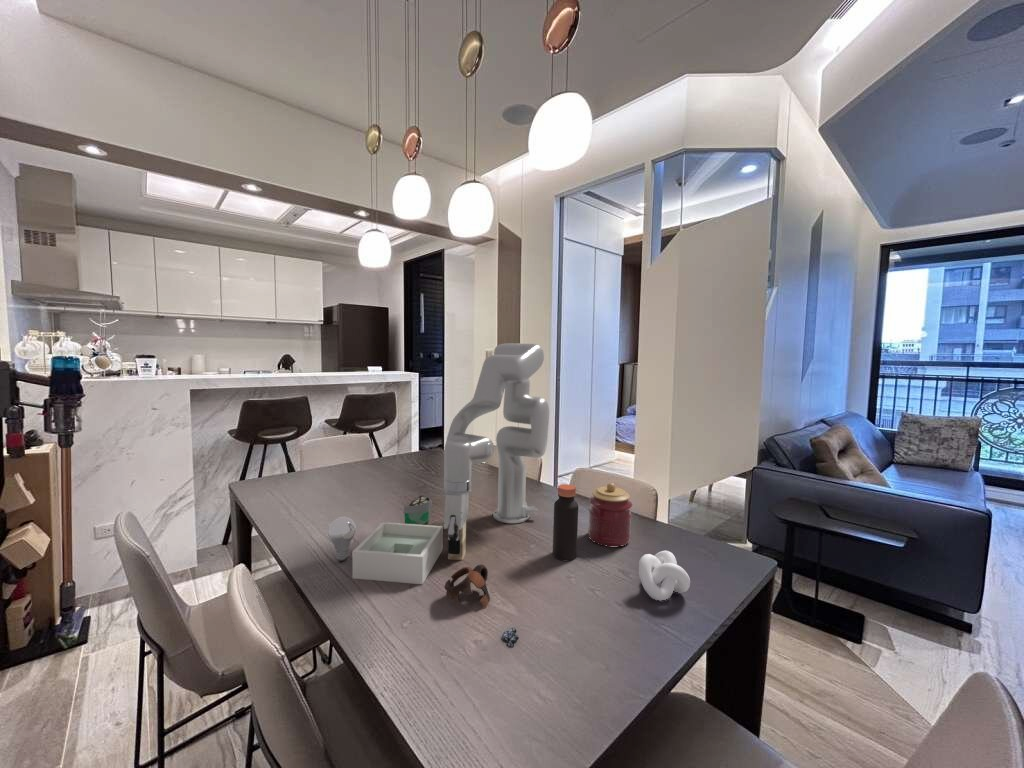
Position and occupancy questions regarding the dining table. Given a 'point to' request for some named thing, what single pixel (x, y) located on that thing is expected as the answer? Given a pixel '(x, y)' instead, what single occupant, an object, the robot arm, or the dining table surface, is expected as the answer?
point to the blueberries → (510, 637)
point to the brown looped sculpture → (469, 583)
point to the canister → (610, 516)
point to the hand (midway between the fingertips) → (457, 547)
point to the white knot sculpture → (662, 575)
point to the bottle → (565, 523)
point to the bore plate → (400, 544)
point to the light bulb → (342, 536)
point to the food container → (418, 511)
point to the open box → (397, 555)
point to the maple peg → (462, 544)
